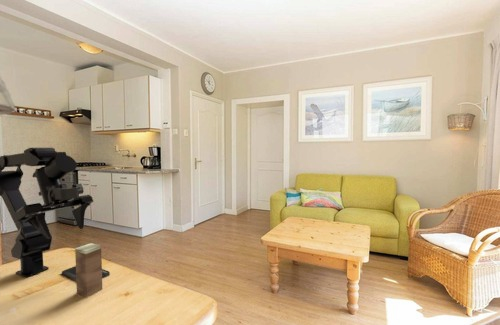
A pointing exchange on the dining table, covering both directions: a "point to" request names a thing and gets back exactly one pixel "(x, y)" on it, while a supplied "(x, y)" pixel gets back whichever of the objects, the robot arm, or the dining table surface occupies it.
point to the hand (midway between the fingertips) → (66, 233)
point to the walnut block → (88, 269)
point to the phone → (72, 273)
